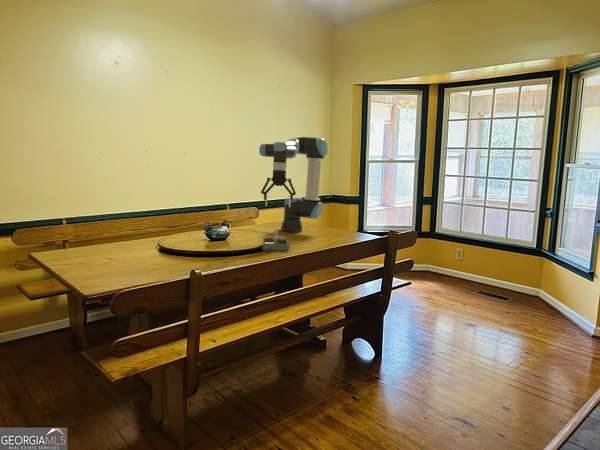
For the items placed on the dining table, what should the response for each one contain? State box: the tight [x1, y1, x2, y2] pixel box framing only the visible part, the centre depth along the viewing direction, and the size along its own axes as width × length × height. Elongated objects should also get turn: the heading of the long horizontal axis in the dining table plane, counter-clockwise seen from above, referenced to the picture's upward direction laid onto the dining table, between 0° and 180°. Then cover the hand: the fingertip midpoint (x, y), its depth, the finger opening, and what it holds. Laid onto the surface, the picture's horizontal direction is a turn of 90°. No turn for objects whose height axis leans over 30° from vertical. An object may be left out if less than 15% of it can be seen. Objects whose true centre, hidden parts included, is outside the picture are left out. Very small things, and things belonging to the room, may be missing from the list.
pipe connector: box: [266, 228, 285, 244], centre depth 263 cm, size 10×10×10 cm
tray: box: [262, 237, 290, 253], centre depth 263 cm, size 15×15×4 cm
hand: (277, 206), depth 260 cm, fingers open, 13 cm apart
